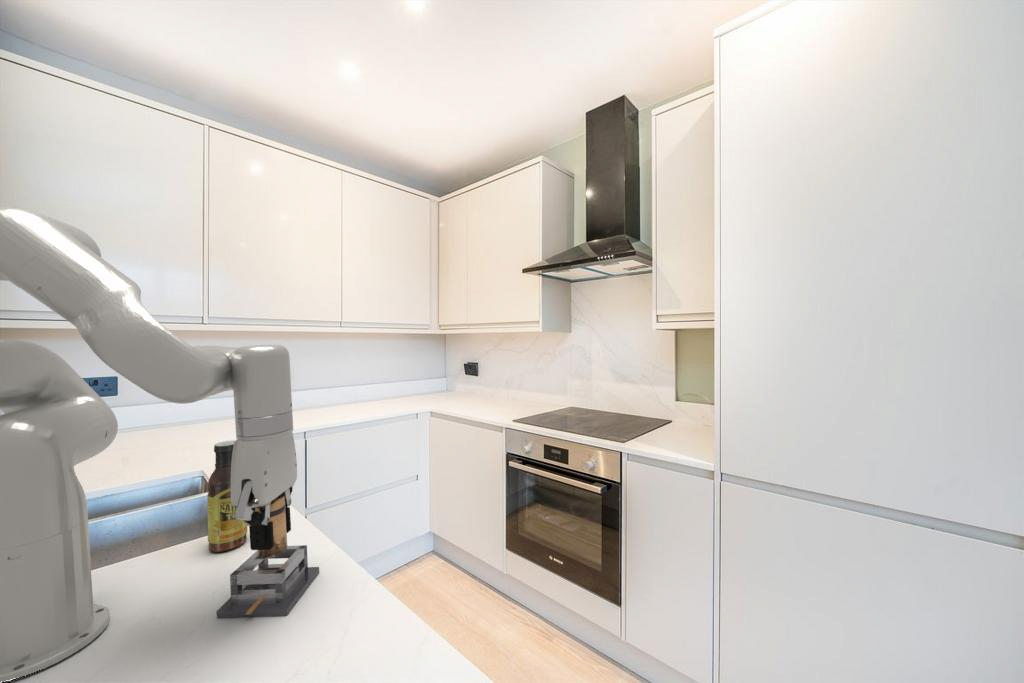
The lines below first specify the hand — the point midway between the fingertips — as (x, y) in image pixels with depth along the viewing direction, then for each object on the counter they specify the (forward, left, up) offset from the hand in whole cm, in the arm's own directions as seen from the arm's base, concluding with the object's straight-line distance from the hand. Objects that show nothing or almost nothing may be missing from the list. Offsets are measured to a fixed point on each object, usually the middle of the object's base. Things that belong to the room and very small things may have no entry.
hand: (271, 539), depth 62 cm
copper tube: (0, 0, -2) cm, 2 cm away
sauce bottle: (-17, +15, -9) cm, 24 cm away
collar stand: (0, 0, -9) cm, 9 cm away
